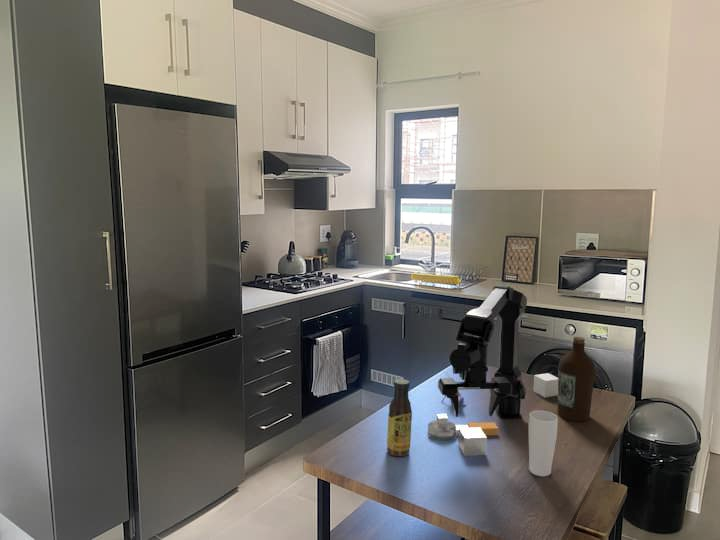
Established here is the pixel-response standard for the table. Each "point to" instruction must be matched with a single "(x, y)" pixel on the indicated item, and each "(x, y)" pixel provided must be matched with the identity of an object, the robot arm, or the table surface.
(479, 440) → the brushed metal cube
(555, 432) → the drinking glass
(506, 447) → the table surface
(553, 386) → the white cube
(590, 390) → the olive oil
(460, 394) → the lily
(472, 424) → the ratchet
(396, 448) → the sauce bottle
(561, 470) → the table surface
